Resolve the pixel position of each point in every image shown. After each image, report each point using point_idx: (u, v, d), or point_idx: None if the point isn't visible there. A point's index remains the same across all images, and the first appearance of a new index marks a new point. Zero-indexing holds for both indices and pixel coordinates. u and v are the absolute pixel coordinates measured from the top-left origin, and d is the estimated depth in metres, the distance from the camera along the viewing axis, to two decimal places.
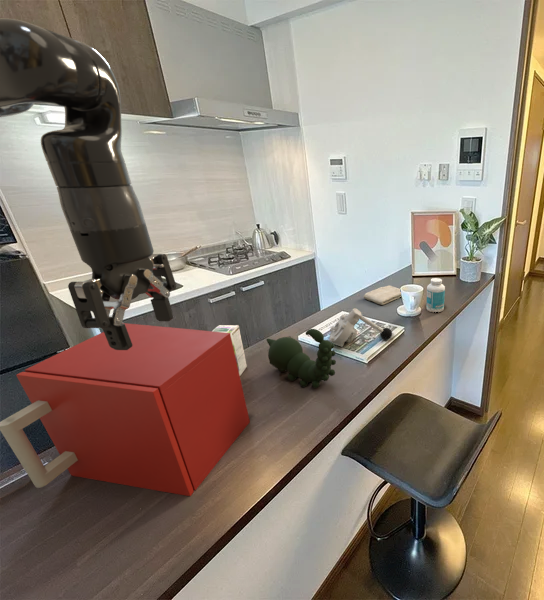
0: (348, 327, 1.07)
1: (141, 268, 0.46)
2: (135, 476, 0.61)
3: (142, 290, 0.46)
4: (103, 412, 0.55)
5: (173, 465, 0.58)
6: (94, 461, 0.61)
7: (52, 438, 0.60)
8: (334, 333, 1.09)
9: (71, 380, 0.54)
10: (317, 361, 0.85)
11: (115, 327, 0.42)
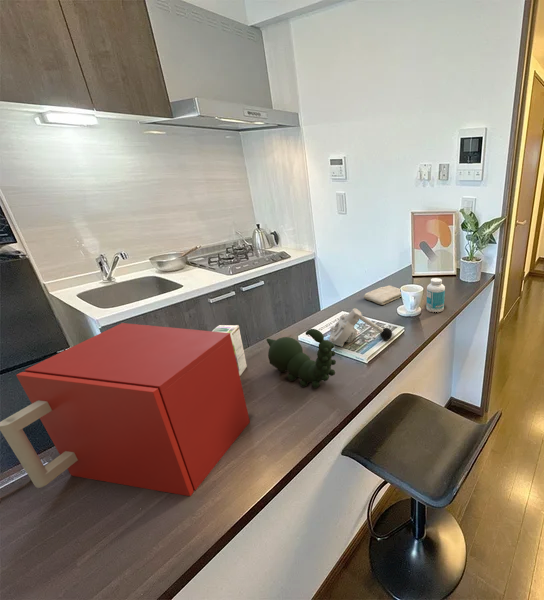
0: (348, 327, 1.07)
1: None
2: (135, 476, 0.61)
3: None
4: (103, 412, 0.55)
5: (173, 465, 0.58)
6: (94, 461, 0.61)
7: (52, 438, 0.60)
8: (334, 333, 1.09)
9: (71, 380, 0.54)
10: (317, 361, 0.85)
11: None
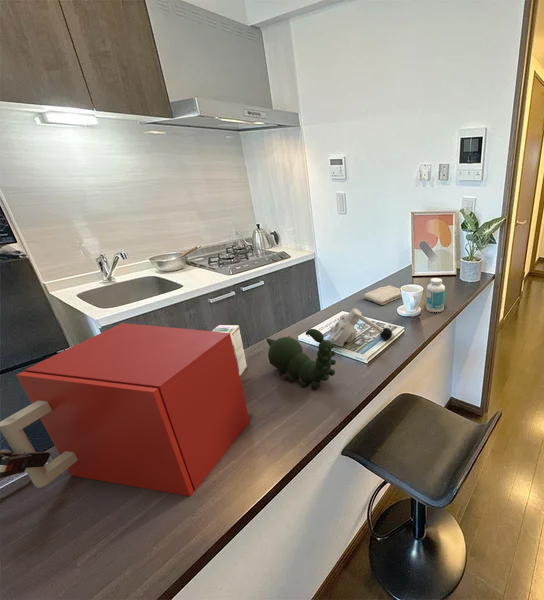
0: (348, 327, 1.07)
1: None
2: (135, 476, 0.61)
3: None
4: (103, 412, 0.55)
5: (173, 465, 0.58)
6: (94, 461, 0.61)
7: (52, 438, 0.60)
8: (334, 333, 1.09)
9: (71, 380, 0.54)
10: (317, 361, 0.85)
11: None
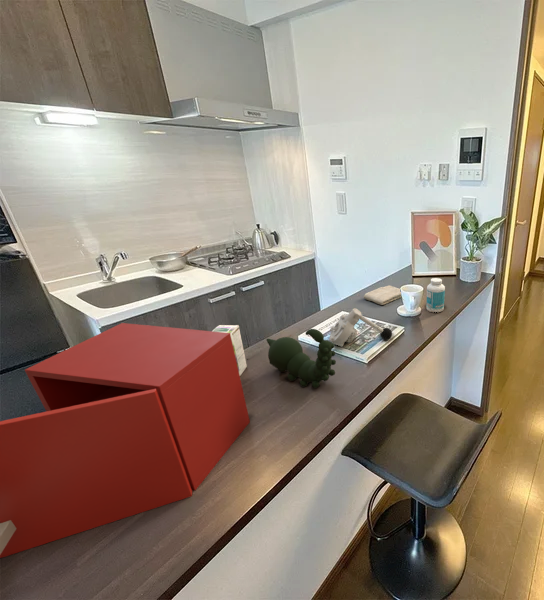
0: (348, 327, 1.07)
1: None
2: (115, 507, 0.55)
3: None
4: (75, 442, 0.49)
5: (173, 468, 0.57)
6: (47, 517, 0.52)
7: None
8: (334, 333, 1.09)
9: (21, 418, 0.46)
10: (317, 361, 0.85)
11: None
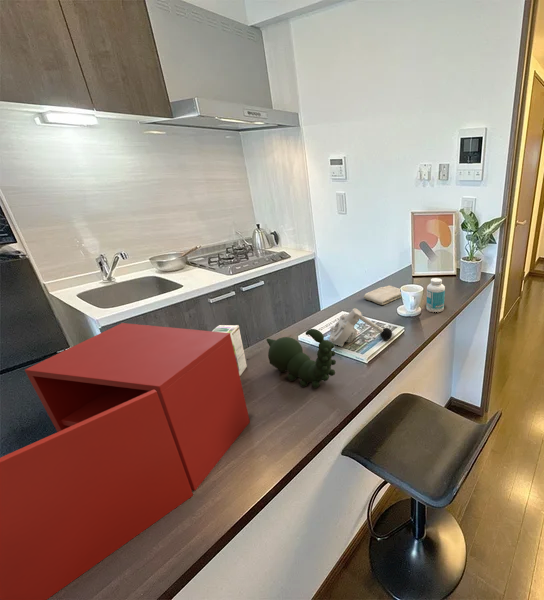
0: (348, 327, 1.07)
1: None
2: (116, 533, 0.52)
3: None
4: (74, 468, 0.45)
5: (175, 470, 0.57)
6: (39, 571, 0.45)
7: None
8: (334, 333, 1.09)
9: (8, 456, 0.40)
10: (317, 361, 0.85)
11: None
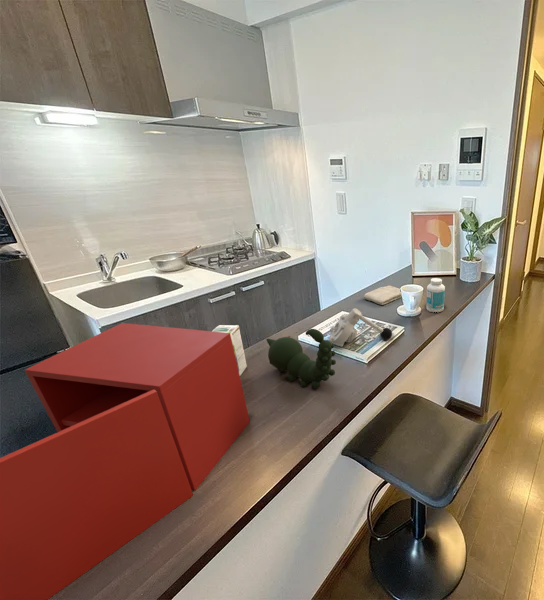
0: (348, 327, 1.07)
1: None
2: (117, 533, 0.52)
3: None
4: (74, 468, 0.45)
5: (175, 470, 0.57)
6: (39, 571, 0.45)
7: None
8: (334, 333, 1.09)
9: (8, 456, 0.40)
10: (317, 361, 0.85)
11: None
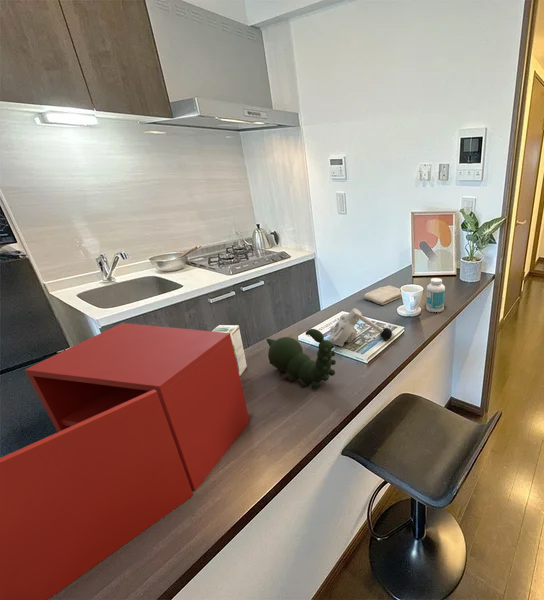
0: (348, 327, 1.07)
1: None
2: (117, 533, 0.52)
3: None
4: (74, 468, 0.45)
5: (175, 470, 0.57)
6: (39, 571, 0.45)
7: None
8: (334, 333, 1.09)
9: (8, 456, 0.40)
10: (317, 361, 0.85)
11: None
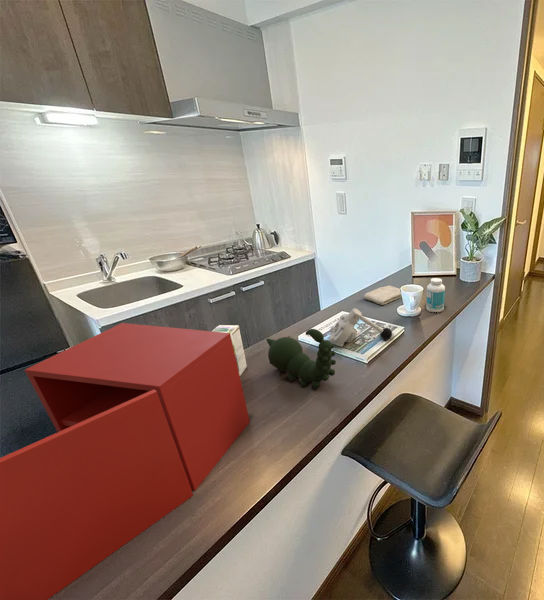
0: (348, 327, 1.07)
1: None
2: (117, 533, 0.52)
3: None
4: (74, 468, 0.45)
5: (175, 470, 0.57)
6: (39, 571, 0.45)
7: None
8: (334, 333, 1.09)
9: (8, 456, 0.40)
10: (317, 361, 0.85)
11: None
